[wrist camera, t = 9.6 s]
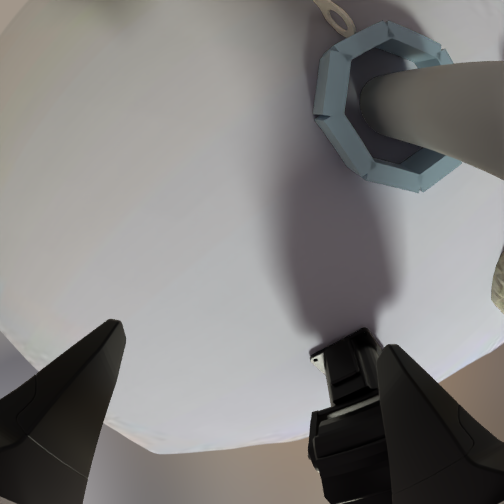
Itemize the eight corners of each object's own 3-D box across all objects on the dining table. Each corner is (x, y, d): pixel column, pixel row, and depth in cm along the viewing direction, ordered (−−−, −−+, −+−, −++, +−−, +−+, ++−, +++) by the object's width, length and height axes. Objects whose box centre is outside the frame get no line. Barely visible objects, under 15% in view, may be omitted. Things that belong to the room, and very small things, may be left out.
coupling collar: (464, 135, 15) (488, 142, 13) (369, 203, 19) (385, 219, 16) (396, 17, 11) (416, 6, 9) (282, 80, 15) (287, 73, 12)
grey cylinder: (424, 119, 15) (558, 156, 5) (381, 148, 17) (507, 210, 6) (393, 66, 14) (526, 48, 3) (347, 94, 15) (469, 84, 4)
